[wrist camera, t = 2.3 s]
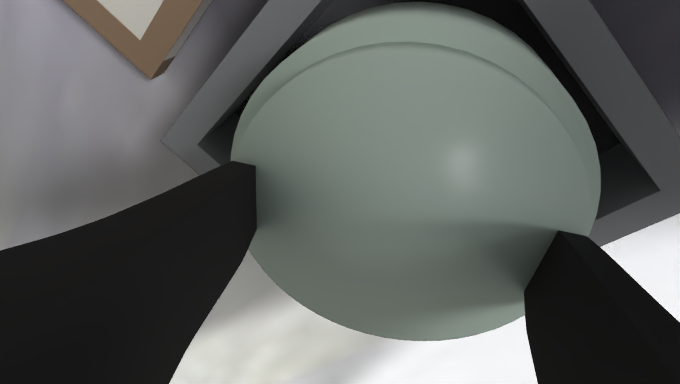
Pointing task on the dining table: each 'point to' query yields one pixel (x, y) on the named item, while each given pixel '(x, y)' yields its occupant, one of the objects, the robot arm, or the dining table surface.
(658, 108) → the grey square tray
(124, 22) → the board
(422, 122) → the dome
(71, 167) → the dining table surface
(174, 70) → the dining table surface
